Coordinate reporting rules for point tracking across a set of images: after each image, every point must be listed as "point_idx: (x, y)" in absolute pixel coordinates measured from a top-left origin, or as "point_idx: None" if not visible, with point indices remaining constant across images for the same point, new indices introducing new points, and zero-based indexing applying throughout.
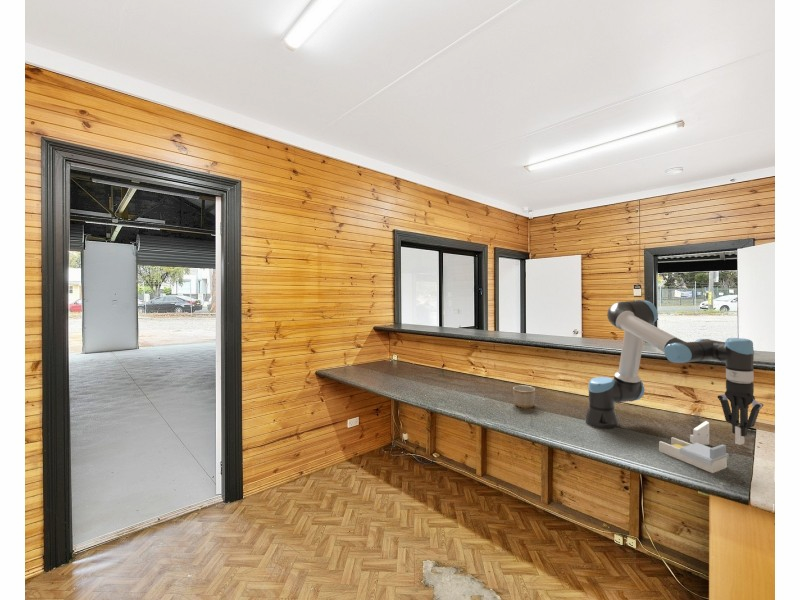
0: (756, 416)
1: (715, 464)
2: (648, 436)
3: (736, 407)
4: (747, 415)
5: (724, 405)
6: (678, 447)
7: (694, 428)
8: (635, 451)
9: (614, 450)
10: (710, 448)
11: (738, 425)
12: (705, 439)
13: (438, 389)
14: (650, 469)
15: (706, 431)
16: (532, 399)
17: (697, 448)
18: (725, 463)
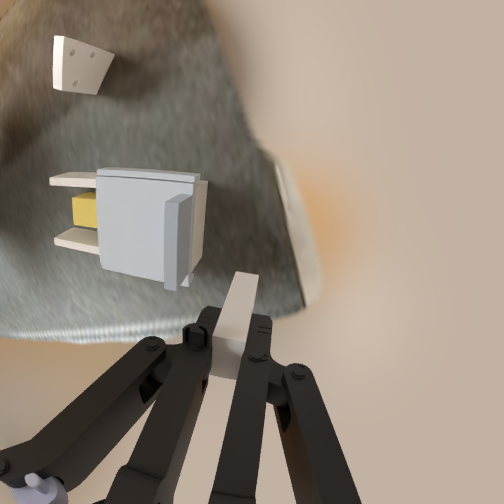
0: (336, 461)
1: (195, 252)
2: (25, 165)
3: (171, 495)
4: (261, 439)
5: (92, 463)
6: (87, 221)
7: (53, 84)
8: (62, 279)
9: (53, 306)
10: (164, 285)
11: (214, 349)
12: (98, 63)
13: None
14: (128, 340)
15: (81, 54)
16: None
17: (121, 225)
18: (202, 190)
